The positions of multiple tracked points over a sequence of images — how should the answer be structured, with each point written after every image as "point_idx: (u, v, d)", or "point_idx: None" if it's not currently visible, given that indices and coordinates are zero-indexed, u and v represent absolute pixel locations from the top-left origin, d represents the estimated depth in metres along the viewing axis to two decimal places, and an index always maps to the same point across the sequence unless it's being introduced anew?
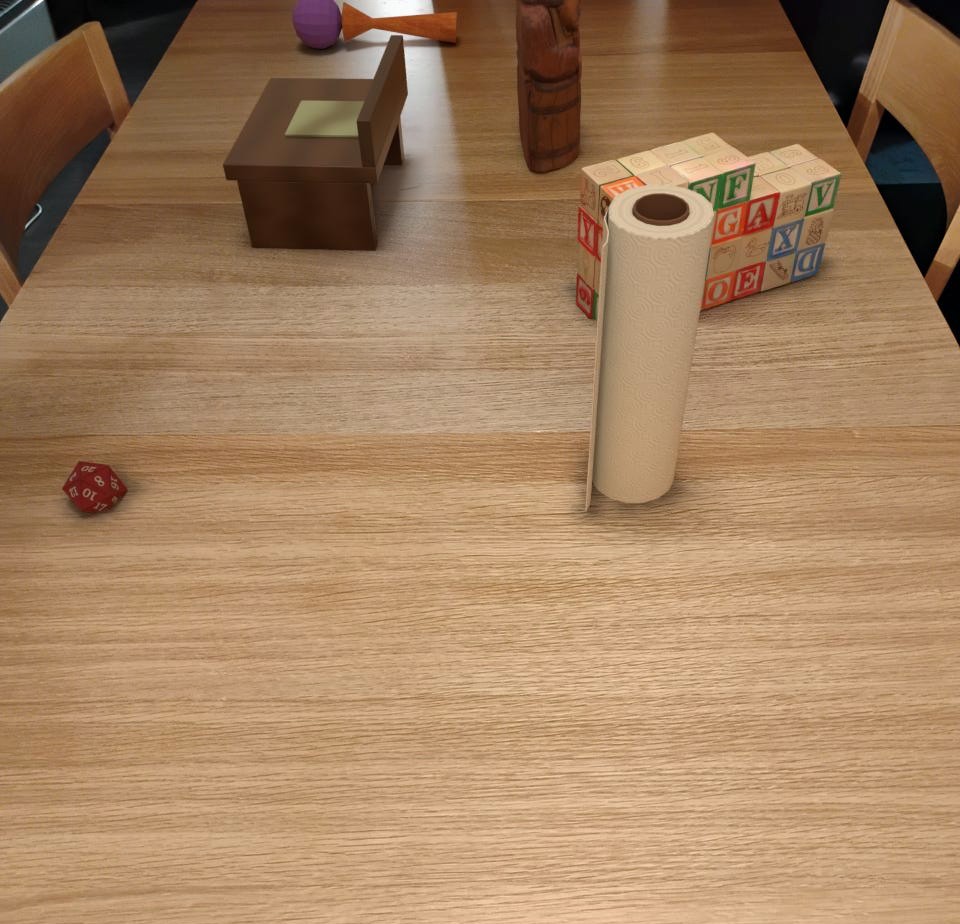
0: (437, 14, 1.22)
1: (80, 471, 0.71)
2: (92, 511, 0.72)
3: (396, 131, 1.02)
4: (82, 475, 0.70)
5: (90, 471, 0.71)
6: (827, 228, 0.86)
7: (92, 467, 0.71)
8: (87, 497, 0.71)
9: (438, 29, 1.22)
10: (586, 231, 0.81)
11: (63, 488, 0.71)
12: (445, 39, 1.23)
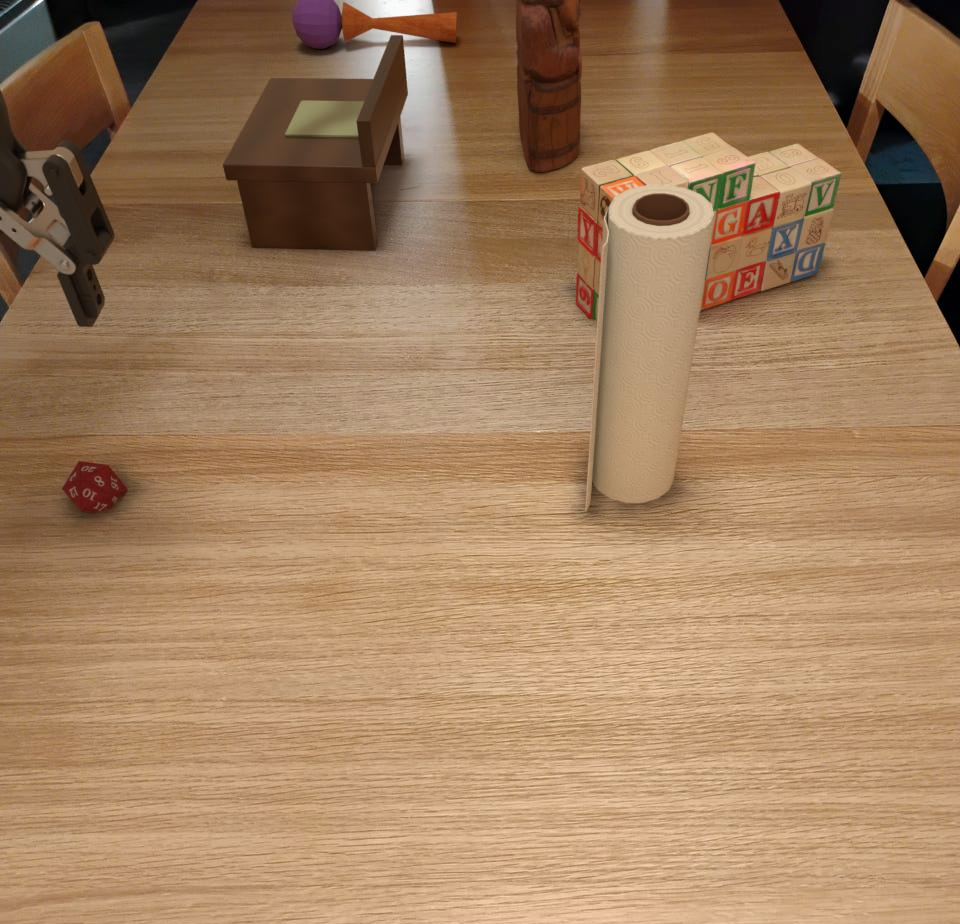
0: (437, 14, 1.22)
1: (80, 471, 0.71)
2: (92, 511, 0.72)
3: (396, 131, 1.02)
4: (82, 475, 0.70)
5: (90, 471, 0.71)
6: (827, 228, 0.86)
7: (92, 467, 0.71)
8: (87, 497, 0.71)
9: (438, 29, 1.22)
10: (586, 231, 0.81)
11: (63, 488, 0.71)
12: (445, 39, 1.23)
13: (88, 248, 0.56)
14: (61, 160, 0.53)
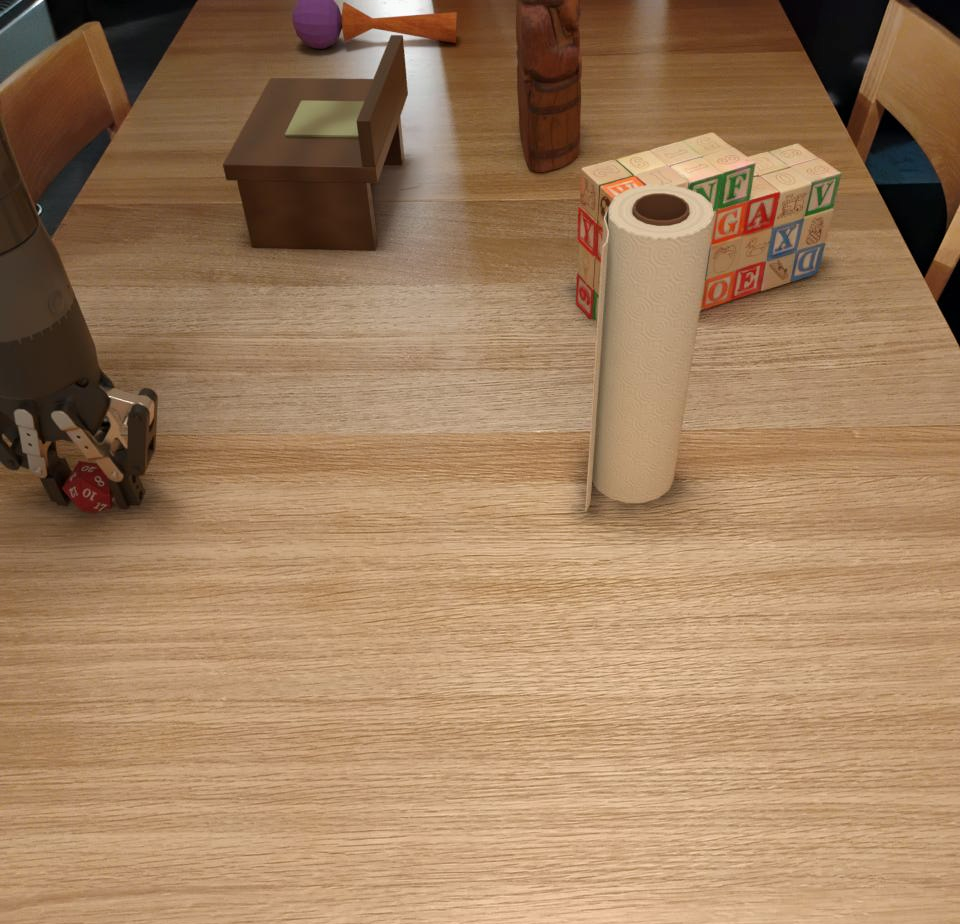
0: (437, 14, 1.22)
1: (80, 471, 0.71)
2: (92, 511, 0.72)
3: (396, 131, 1.02)
4: (82, 475, 0.70)
5: (90, 471, 0.71)
6: (827, 228, 0.86)
7: (92, 467, 0.71)
8: (87, 497, 0.71)
9: (438, 29, 1.22)
10: (586, 231, 0.81)
11: (63, 488, 0.71)
12: (445, 39, 1.23)
13: (134, 465, 0.68)
14: (146, 411, 0.65)
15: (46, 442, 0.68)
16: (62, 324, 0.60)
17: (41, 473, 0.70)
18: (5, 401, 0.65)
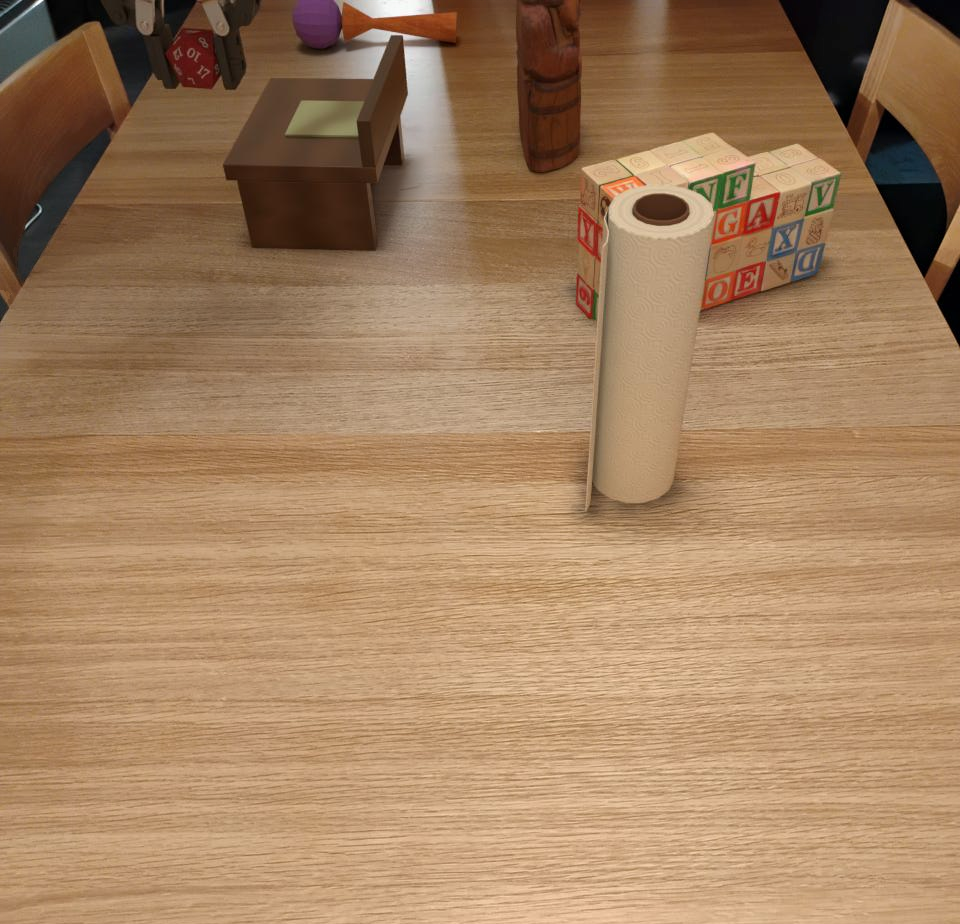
0: (437, 14, 1.22)
1: (184, 32, 0.71)
2: (195, 77, 0.72)
3: (396, 131, 1.02)
4: (187, 34, 0.71)
5: (194, 32, 0.71)
6: (827, 228, 0.86)
7: (196, 31, 0.72)
8: (191, 57, 0.71)
9: (438, 29, 1.22)
10: (586, 231, 0.81)
11: (167, 53, 0.72)
12: (445, 39, 1.23)
13: (242, 10, 0.69)
14: None
15: None
16: None
17: (147, 28, 0.70)
18: None
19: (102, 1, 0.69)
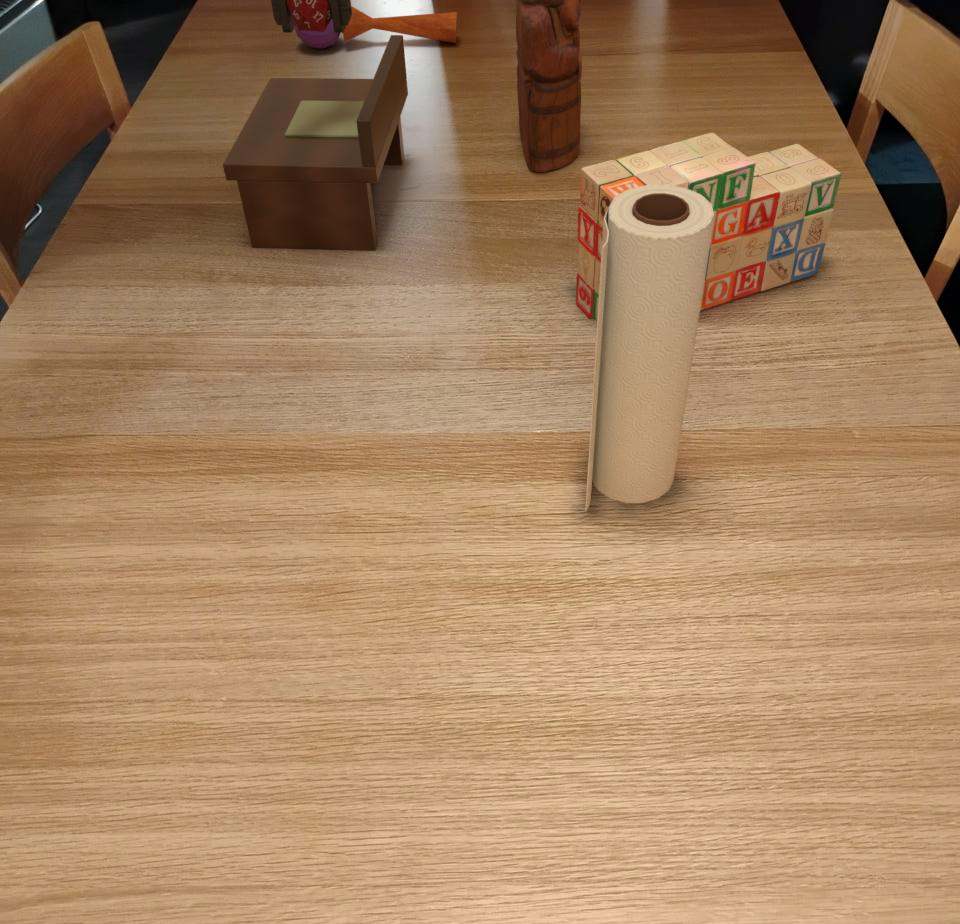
0: (437, 14, 1.22)
1: None
2: (311, 21, 0.86)
3: (396, 131, 1.02)
4: None
5: None
6: (827, 228, 0.86)
7: None
8: (309, 4, 0.85)
9: (438, 29, 1.22)
10: (586, 231, 0.81)
11: (287, 1, 0.86)
12: (445, 39, 1.23)
13: None
14: None
15: None
16: None
17: None
18: None
19: None
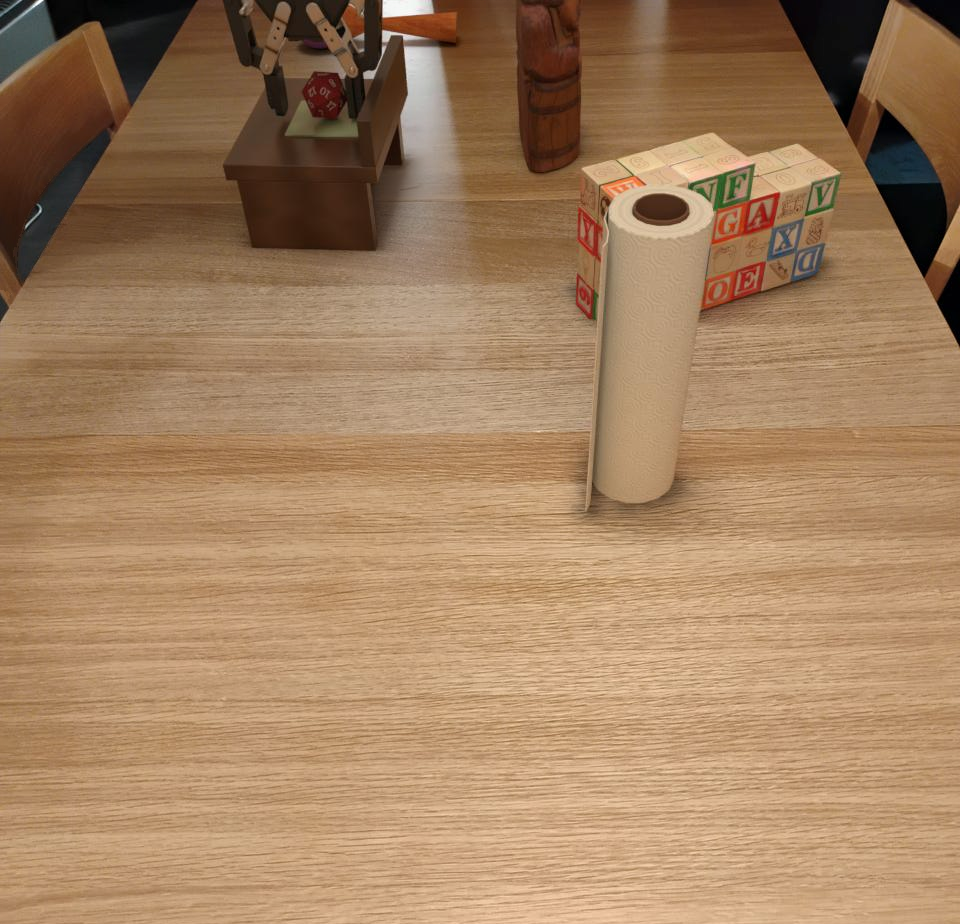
0: (437, 14, 1.22)
1: (317, 75, 0.91)
2: (325, 109, 0.92)
3: (396, 131, 1.02)
4: (320, 76, 0.91)
5: (325, 75, 0.91)
6: (827, 228, 0.86)
7: (325, 74, 0.92)
8: (323, 94, 0.91)
9: (438, 29, 1.22)
10: (586, 231, 0.81)
11: (302, 91, 0.92)
12: (445, 39, 1.23)
13: (370, 58, 0.89)
14: None
15: (282, 43, 0.89)
16: None
17: (268, 69, 0.90)
18: None
19: (236, 46, 0.89)
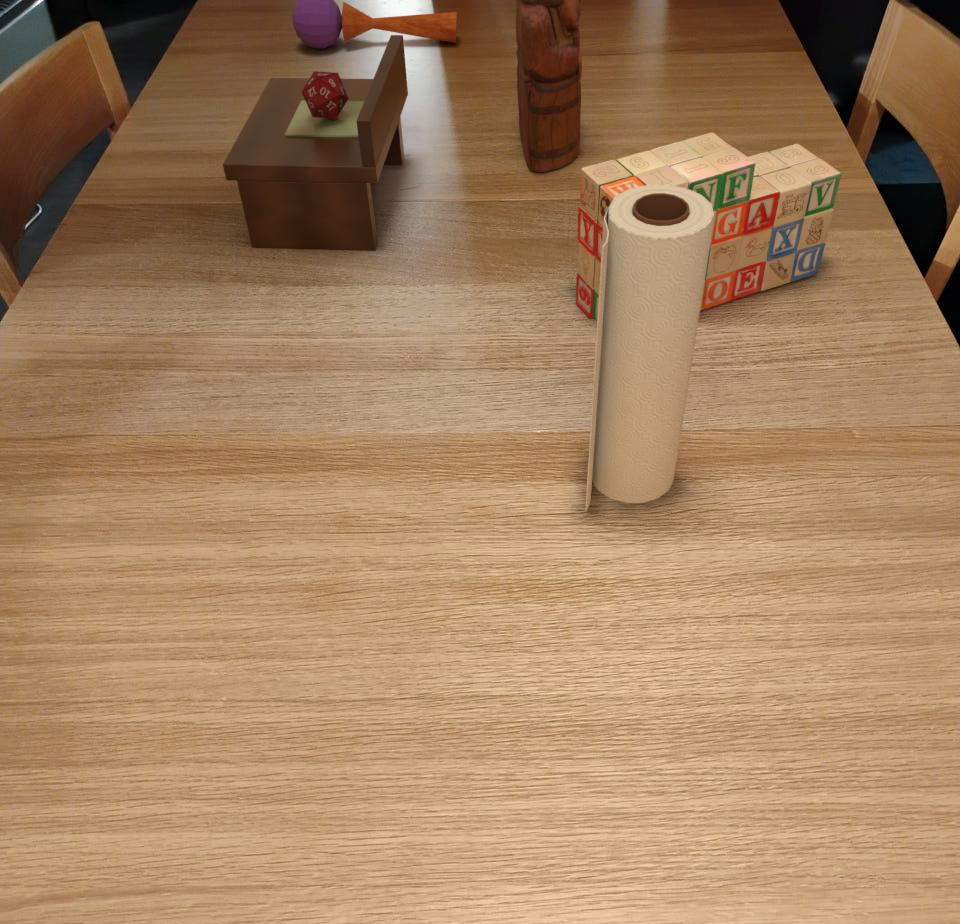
0: (437, 14, 1.22)
1: (317, 75, 0.91)
2: (325, 109, 0.92)
3: (396, 131, 1.02)
4: (320, 76, 0.91)
5: (325, 75, 0.91)
6: (827, 228, 0.86)
7: (325, 74, 0.92)
8: (323, 94, 0.91)
9: (438, 29, 1.22)
10: (586, 231, 0.81)
11: (302, 91, 0.92)
12: (445, 39, 1.23)
13: None
14: None
15: None
16: None
17: None
18: None
19: None
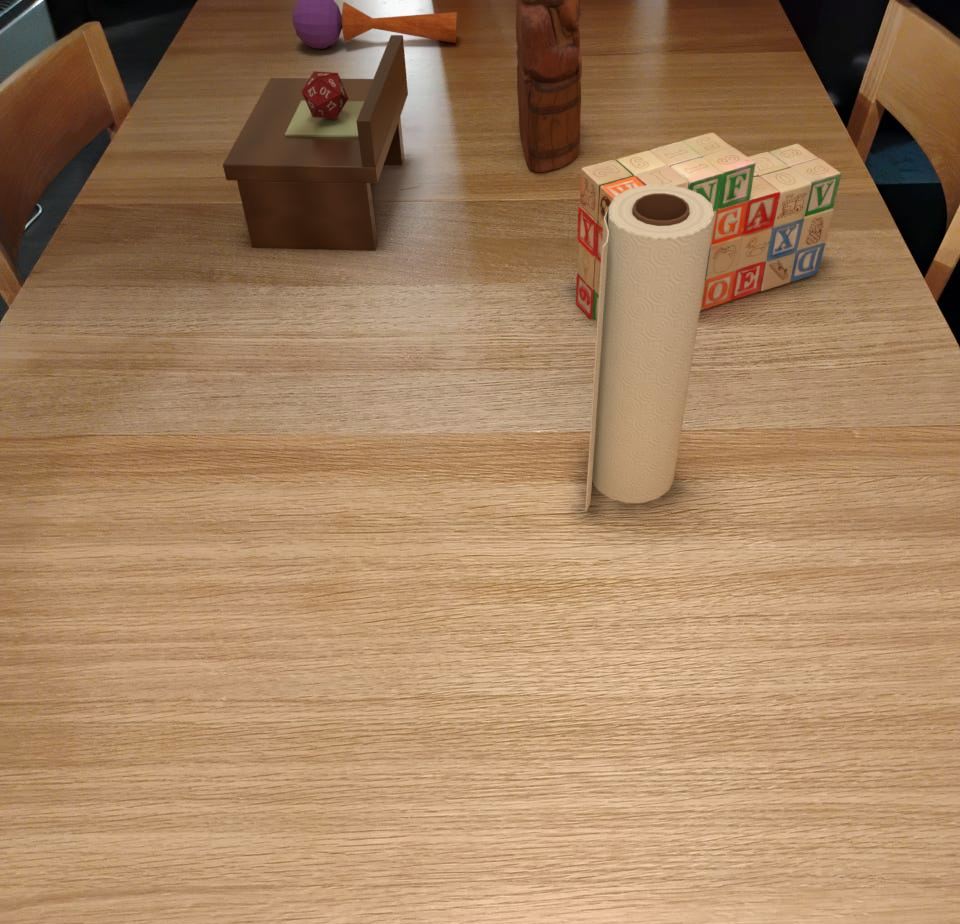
0: (437, 14, 1.22)
1: (317, 75, 0.91)
2: (325, 109, 0.92)
3: (396, 131, 1.02)
4: (320, 76, 0.91)
5: (325, 75, 0.91)
6: (827, 228, 0.86)
7: (325, 74, 0.92)
8: (323, 94, 0.91)
9: (438, 29, 1.22)
10: (586, 231, 0.81)
11: (302, 91, 0.92)
12: (445, 39, 1.23)
13: None
14: None
15: None
16: None
17: None
18: None
19: None
